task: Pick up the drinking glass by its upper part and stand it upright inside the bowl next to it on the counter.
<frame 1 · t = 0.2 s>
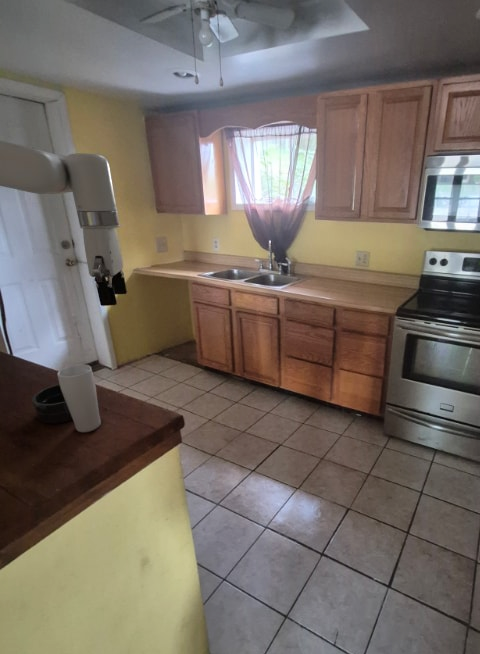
hand: (114, 299, 85), 29 cm above the table, tool pointing down, fingers open, 9 cm apart
bowl: (64, 412, 94), on the table
drinking glass: (89, 427, 88), on the table
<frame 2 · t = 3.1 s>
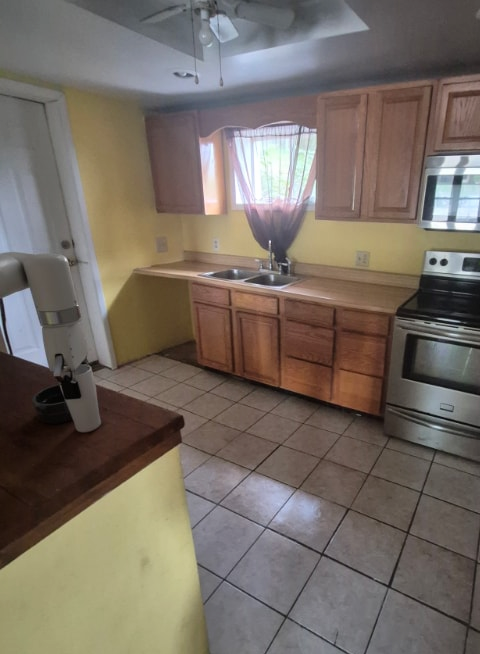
hand: (79, 389, 84), 10 cm above the table, tool pointing down, fingers closed on drinking glass, 6 cm apart
drinking glass: (89, 427, 88), on the table, touching gripper
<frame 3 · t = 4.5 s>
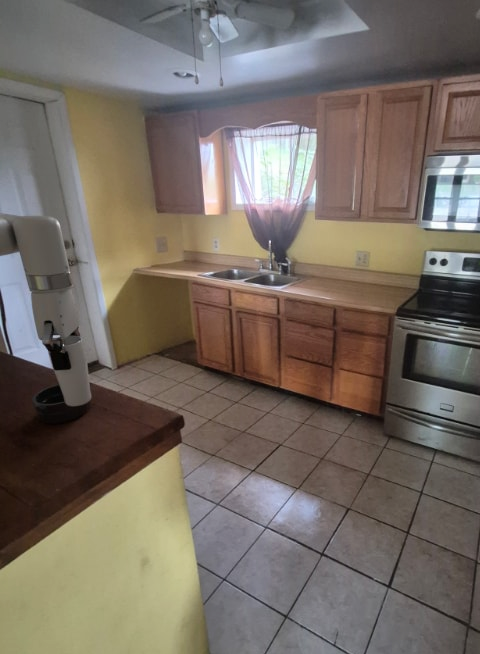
hand: (69, 361, 81), 17 cm above the table, tool pointing down, fingers closed on drinking glass, 6 cm apart
drinking glass: (79, 402, 85), point 7 cm above the table, touching gripper
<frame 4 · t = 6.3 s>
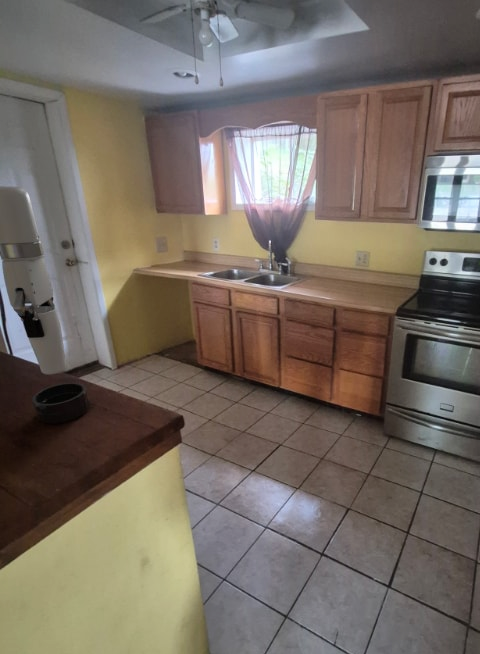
hand: (43, 330, 84), 22 cm above the table, tool pointing down, fingers closed on drinking glass, 6 cm apart
drinking glass: (55, 371, 88), point 12 cm above the table, touching gripper
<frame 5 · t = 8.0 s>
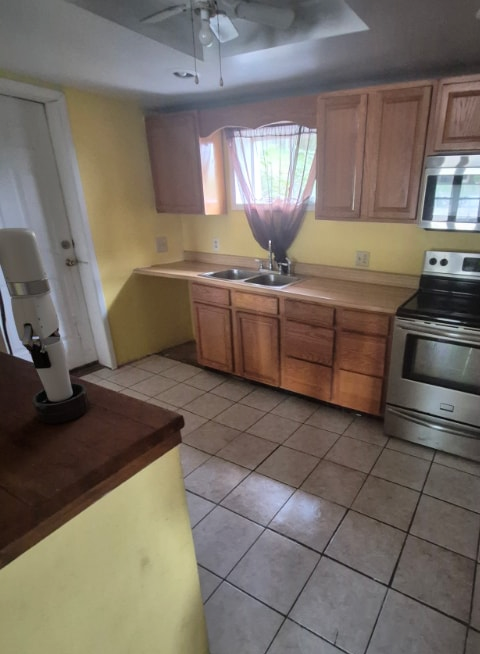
hand: (50, 360, 88), 14 cm above the table, tool pointing down, fingers closed on drinking glass, 6 cm apart
drinking glass: (61, 398, 92), point 4 cm above the table, touching gripper
when the fingers open (11 cm above the table, at t = 9.5 s): drinking glass stays where it is, resting on bowl.
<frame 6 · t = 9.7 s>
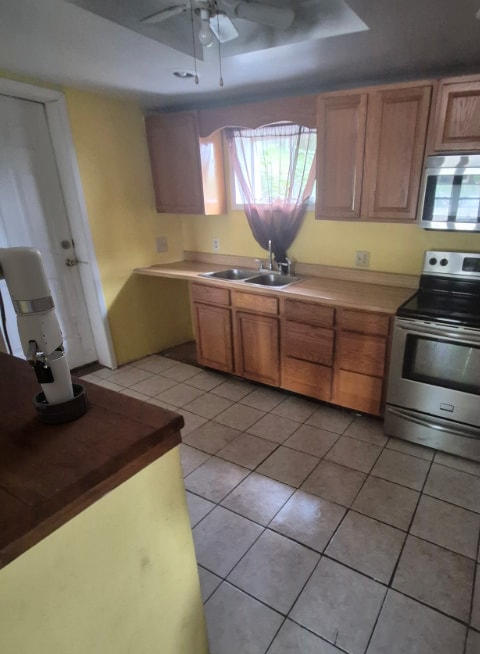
hand: (54, 374, 89), 11 cm above the table, tool pointing down, fingers open, 7 cm apart
drinking glass: (64, 411, 94), resting on bowl
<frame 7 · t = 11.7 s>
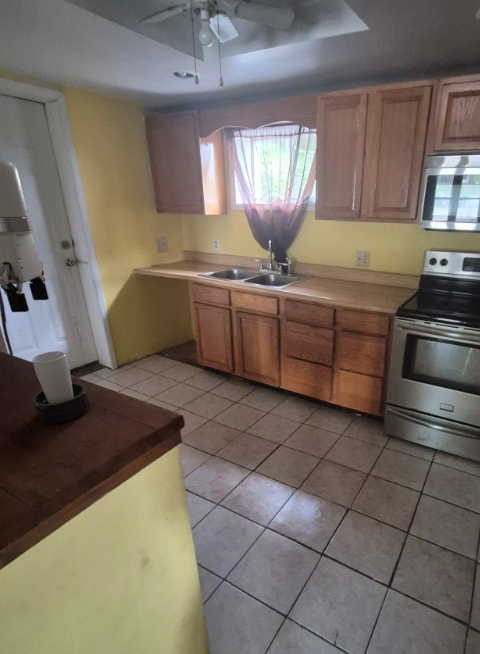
hand: (31, 305, 84), 28 cm above the table, tool pointing down, fingers open, 9 cm apart
nothing on the table moved.
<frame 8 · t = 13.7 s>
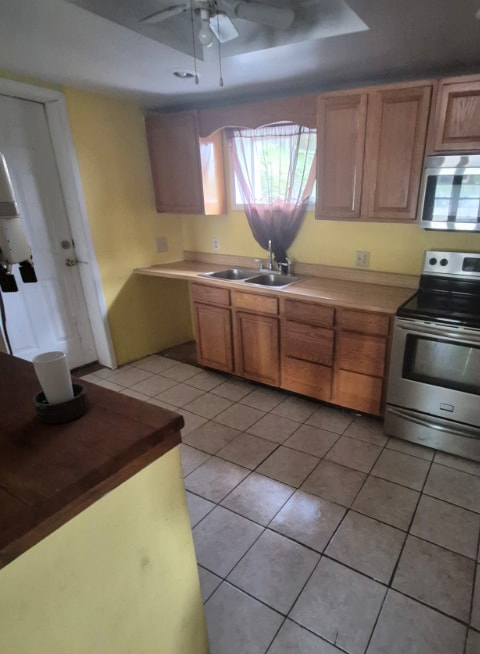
hand: (21, 287, 89), 30 cm above the table, tool pointing down, fingers open, 9 cm apart
nothing on the table moved.
at the end: drinking glass 0.0 cm off-centre in the bowl, point 0.3 cm above the bowl's base; drinking glass tilted 0°; the gripper is holding nothing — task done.
